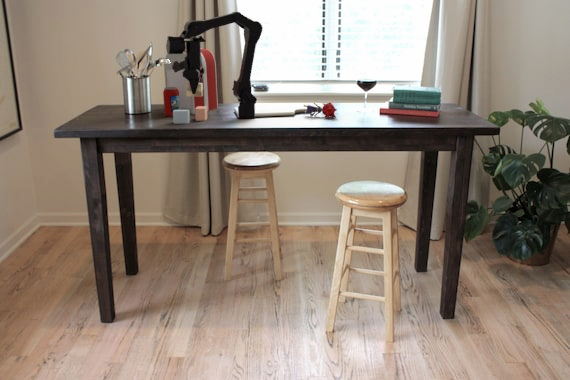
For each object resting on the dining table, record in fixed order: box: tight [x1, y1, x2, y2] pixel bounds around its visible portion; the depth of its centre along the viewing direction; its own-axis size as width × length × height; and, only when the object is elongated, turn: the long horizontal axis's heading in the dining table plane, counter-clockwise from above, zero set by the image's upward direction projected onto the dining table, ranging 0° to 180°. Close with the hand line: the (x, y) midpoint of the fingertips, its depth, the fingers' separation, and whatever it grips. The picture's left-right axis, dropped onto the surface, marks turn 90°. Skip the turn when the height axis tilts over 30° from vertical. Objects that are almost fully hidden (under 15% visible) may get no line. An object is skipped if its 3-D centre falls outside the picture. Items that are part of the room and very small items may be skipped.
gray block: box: [172, 110, 191, 124], centre depth 249 cm, size 6×4×5 cm, turn 88°
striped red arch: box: [163, 47, 219, 115], centre depth 277 cm, size 16×18×27 cm
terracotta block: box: [194, 106, 208, 122], centre depth 256 cm, size 6×4×5 cm, turn 178°
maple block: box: [186, 83, 203, 97], centre depth 247 cm, size 6×4×5 cm, turn 89°
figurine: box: [303, 102, 338, 119], centre depth 256 cm, size 6×8×15 cm
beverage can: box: [162, 87, 180, 118], centre depth 264 cm, size 7×7×12 cm
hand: (194, 93), depth 247 cm, fingers closed on maple block, 4 cm apart
